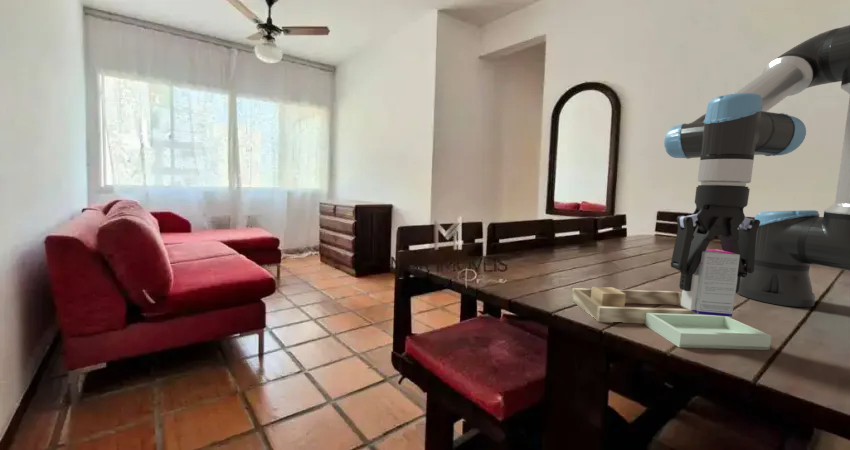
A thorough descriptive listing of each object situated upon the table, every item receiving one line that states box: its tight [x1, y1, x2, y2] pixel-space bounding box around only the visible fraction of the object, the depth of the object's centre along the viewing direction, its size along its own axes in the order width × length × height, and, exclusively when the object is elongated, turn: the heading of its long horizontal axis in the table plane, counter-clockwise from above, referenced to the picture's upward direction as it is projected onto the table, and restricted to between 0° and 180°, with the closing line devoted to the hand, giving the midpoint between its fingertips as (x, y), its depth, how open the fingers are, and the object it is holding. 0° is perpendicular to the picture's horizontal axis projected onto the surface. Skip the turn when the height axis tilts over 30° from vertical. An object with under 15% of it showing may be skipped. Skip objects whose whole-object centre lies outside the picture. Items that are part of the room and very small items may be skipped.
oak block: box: [590, 286, 626, 307], centre depth 82 cm, size 5×5×5 cm
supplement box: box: [692, 248, 740, 318], centre depth 69 cm, size 6×6×12 cm
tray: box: [644, 313, 772, 351], centre depth 70 cm, size 16×10×3 cm, turn 90°
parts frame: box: [571, 287, 700, 324], centre depth 83 cm, size 26×14×3 cm, turn 90°
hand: (706, 307), depth 69 cm, fingers closed on supplement box, 6 cm apart
